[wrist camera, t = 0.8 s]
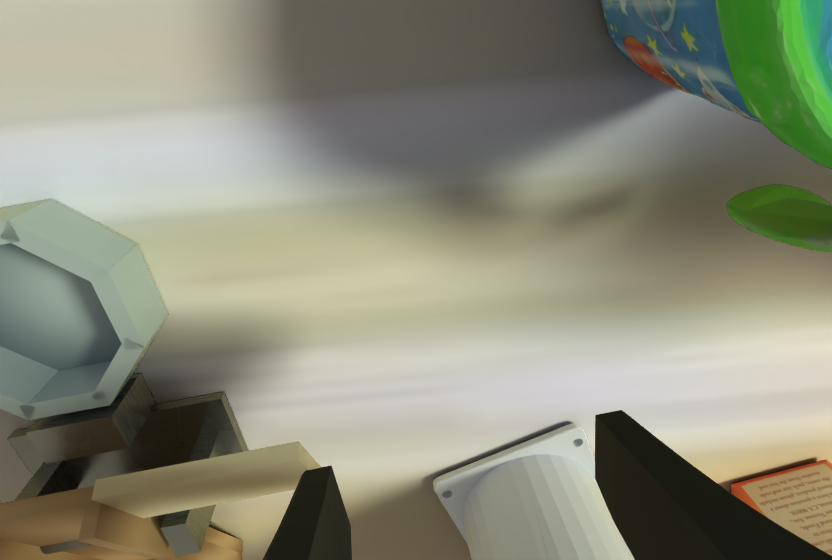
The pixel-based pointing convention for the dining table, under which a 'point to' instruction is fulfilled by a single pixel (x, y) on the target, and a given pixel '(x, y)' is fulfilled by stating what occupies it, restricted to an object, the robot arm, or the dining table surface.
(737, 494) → the cracker box
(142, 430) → the fulcrum
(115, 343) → the grey octagonal bowl
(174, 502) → the lever
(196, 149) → the dining table surface
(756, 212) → the snack cup
